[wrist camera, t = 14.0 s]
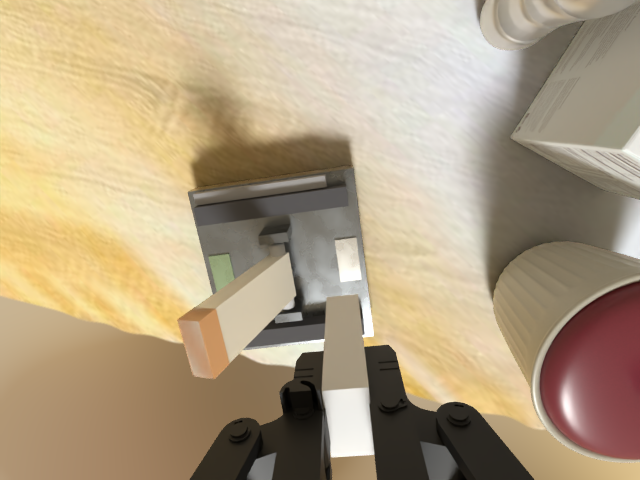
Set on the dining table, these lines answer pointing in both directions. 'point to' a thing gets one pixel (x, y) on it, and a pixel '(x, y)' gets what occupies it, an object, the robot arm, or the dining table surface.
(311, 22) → the dining table surface
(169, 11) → the dining table surface
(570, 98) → the supplement box
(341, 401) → the robot arm
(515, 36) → the plastic bottle
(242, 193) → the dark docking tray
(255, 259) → the panel
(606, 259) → the canister
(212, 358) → the lever
